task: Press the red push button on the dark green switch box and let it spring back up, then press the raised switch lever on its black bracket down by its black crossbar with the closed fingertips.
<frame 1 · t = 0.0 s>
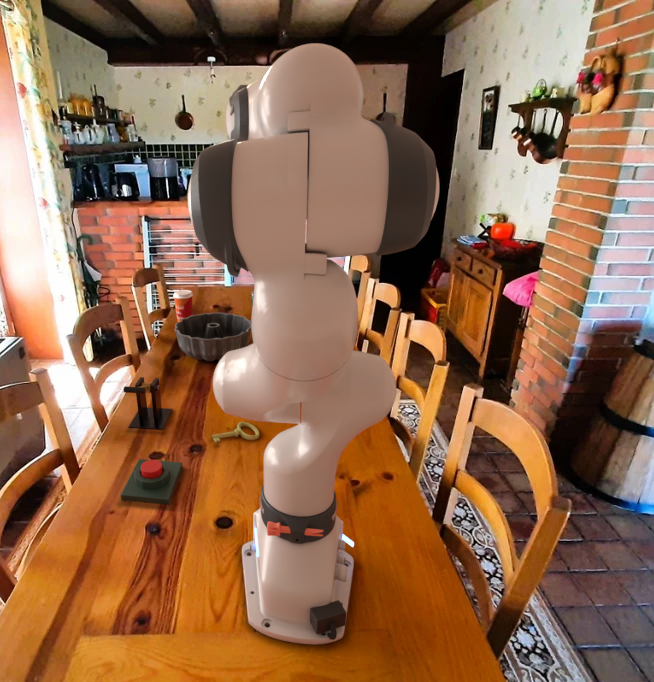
hand: (304, 243, 92), 48 cm above the table, tool pointing down, fingers open, 8 cm apart
button: (151, 469, 101), point 4 cm above the table, slide at 0.1 cm
lever: (141, 388, 118), point 12 cm above the table, hinge at 25.0°
lever bracket: (151, 421, 127), on the table
key: (236, 437, 119), on the table
switch box: (153, 486, 103), on the table
bundt pan: (214, 352, 166), on the table
paper cup: (185, 326, 191), on the table
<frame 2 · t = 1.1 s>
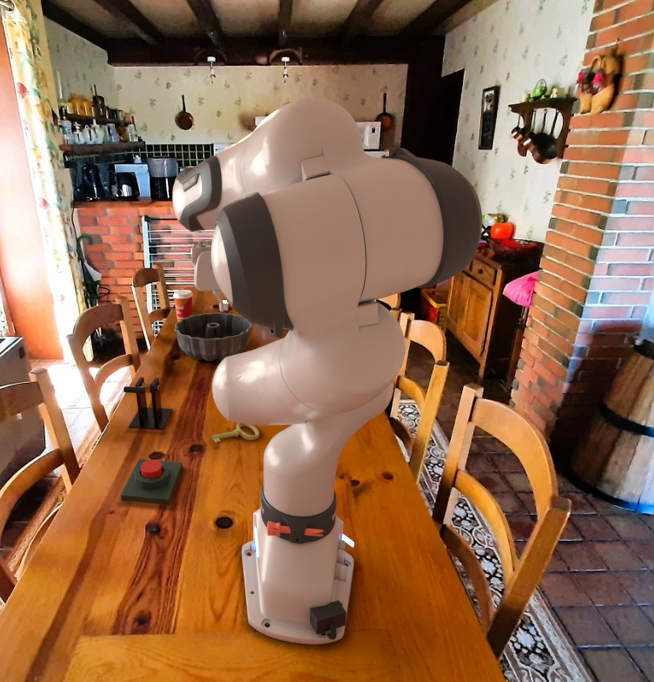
hand: (247, 308, 94), 37 cm above the table, tool pointing down, fingers open, 8 cm apart
nothing on the table moved.
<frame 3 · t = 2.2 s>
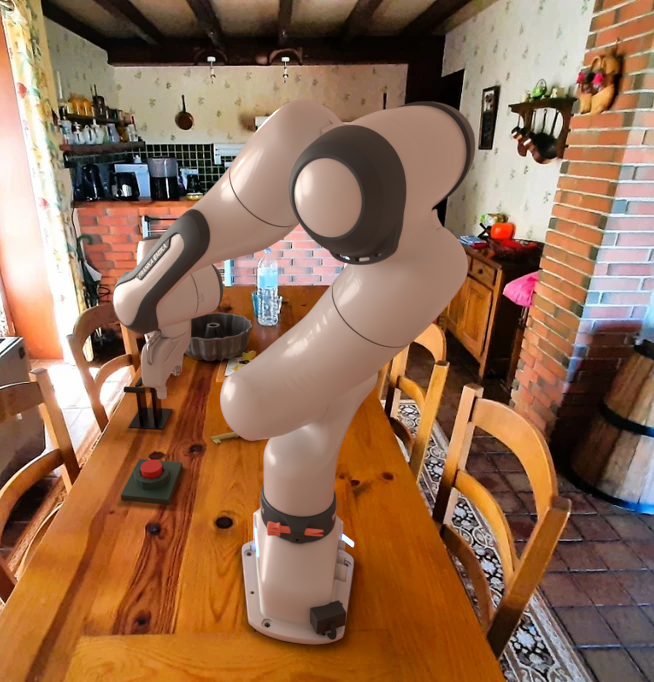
hand: (170, 385, 96), 23 cm above the table, tool pointing down, fingers open, 8 cm apart
nothing on the table moved.
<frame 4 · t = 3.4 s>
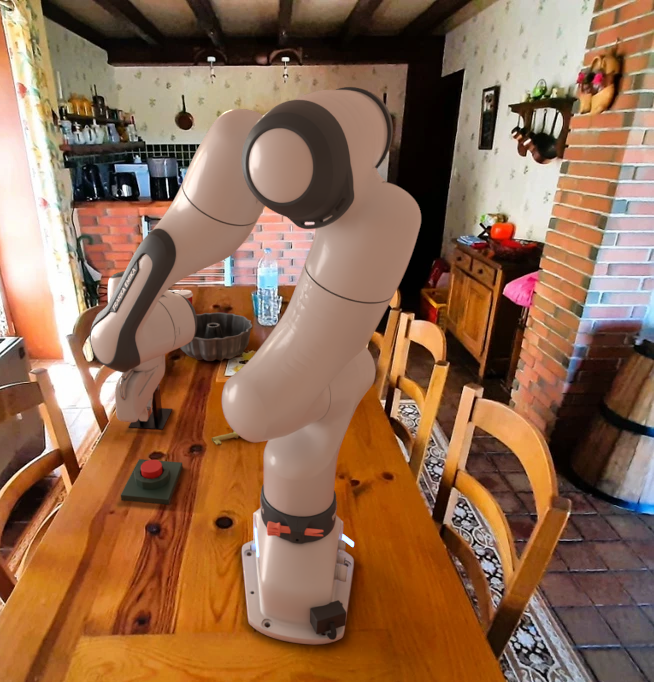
hand: (145, 417, 96), 17 cm above the table, tool pointing down, fingers closed
nothing on the table moved.
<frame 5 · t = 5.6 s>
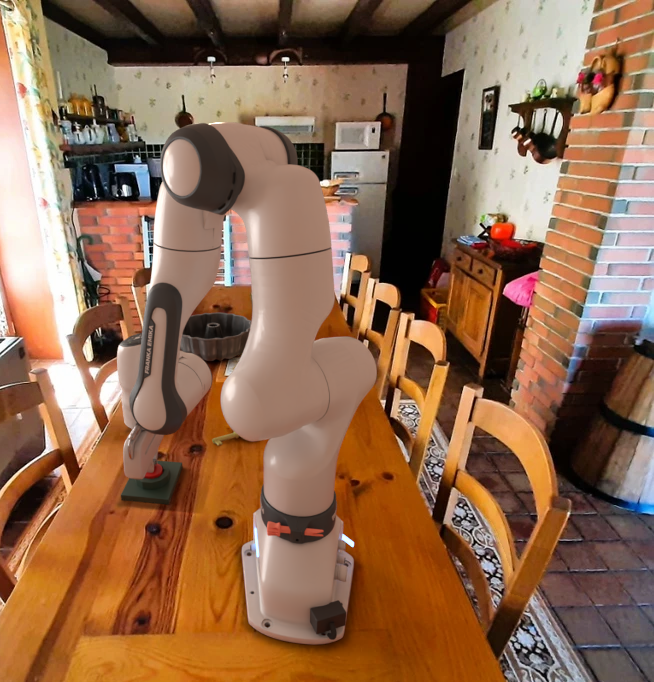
hand: (151, 468, 101), 4 cm above the table, tool pointing down, fingers closed, pressing on button
button: (152, 472, 101), point 4 cm above the table, slide at -0.8 cm, touching gripper
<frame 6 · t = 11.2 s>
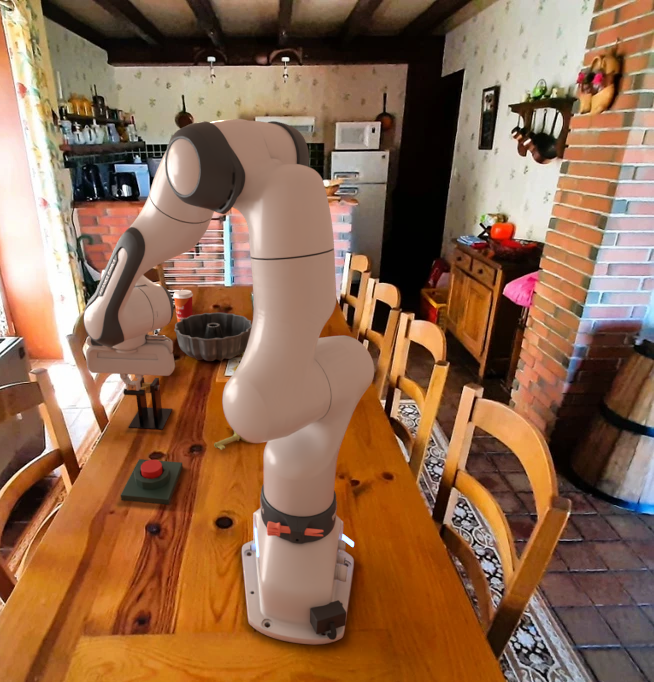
hand: (133, 389, 113), 14 cm above the table, tool pointing down, fingers closed
button: (151, 469, 101), point 4 cm above the table, slide at 0.1 cm
lever: (141, 389, 118), point 12 cm above the table, hinge at 21.9°, touching gripper
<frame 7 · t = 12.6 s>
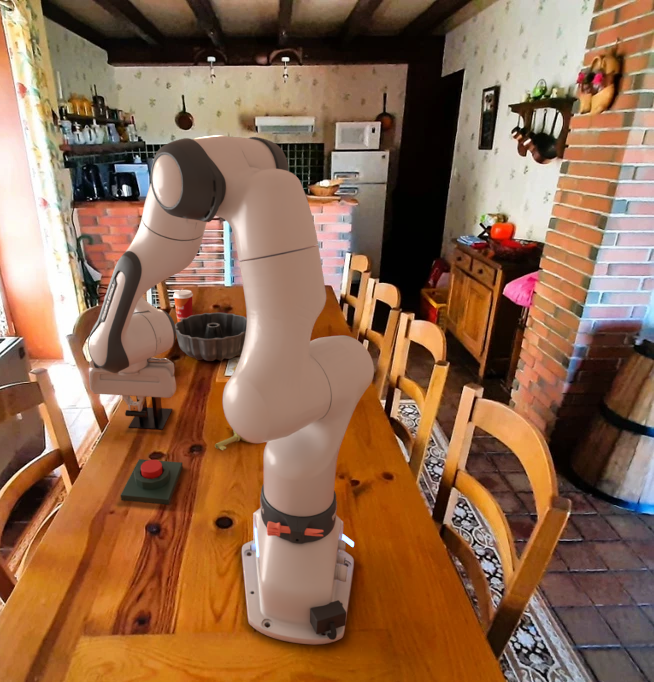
hand: (135, 410, 115), 9 cm above the table, tool pointing down, fingers closed, pressing on lever
lever: (142, 399, 119), point 9 cm above the table, hinge at -9.9°, touching gripper
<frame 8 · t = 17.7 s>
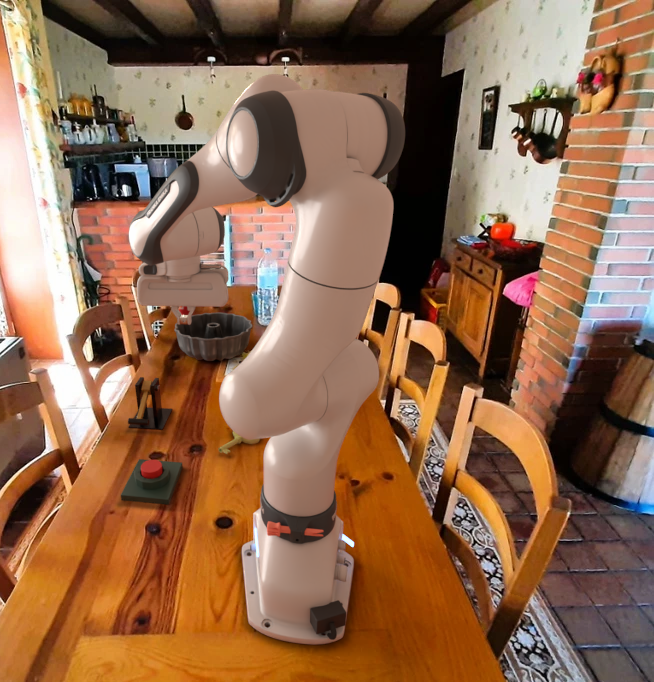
hand: (184, 323, 110), 29 cm above the table, tool pointing down, fingers closed
lever: (143, 403, 120), point 8 cm above the table, hinge at -27.0°
at the end: button pushed in 1.1 cm at the most during the clip, back to where it started at the end; button slide at 0.1 cm; lever at -27° (first picture: +25°) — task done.
